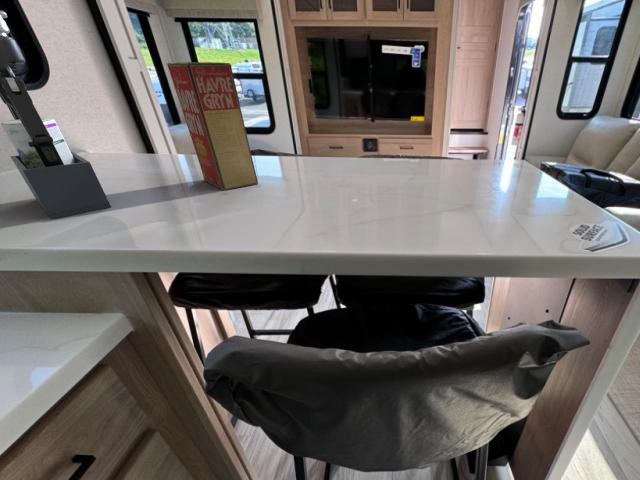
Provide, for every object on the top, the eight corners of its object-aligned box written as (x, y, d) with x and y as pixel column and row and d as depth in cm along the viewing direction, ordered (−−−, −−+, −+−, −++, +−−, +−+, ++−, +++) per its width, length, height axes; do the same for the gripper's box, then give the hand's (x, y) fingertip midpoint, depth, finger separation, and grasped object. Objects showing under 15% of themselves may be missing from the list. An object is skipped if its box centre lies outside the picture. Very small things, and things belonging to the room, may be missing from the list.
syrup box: (93, 193, 73) (55, 118, 65) (79, 201, 68) (36, 121, 60) (62, 194, 72) (20, 118, 64) (45, 203, 67) (-3, 122, 59)
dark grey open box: (36, 199, 72) (10, 156, 67) (90, 190, 78) (69, 149, 73) (51, 219, 63) (22, 170, 58) (111, 207, 69) (89, 162, 64)
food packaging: (201, 180, 87) (164, 61, 72) (237, 174, 92) (209, 63, 78) (222, 191, 79) (185, 61, 65) (260, 183, 84) (233, 62, 70)
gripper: (21, 32, 52) (95, 183, 64) (5, 38, 63) (71, 166, 76) (-52, 28, 47) (43, 191, 60) (-55, 35, 58) (26, 172, 71)
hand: (58, 177), depth 68 cm, fingers closed on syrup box, 8 cm apart
